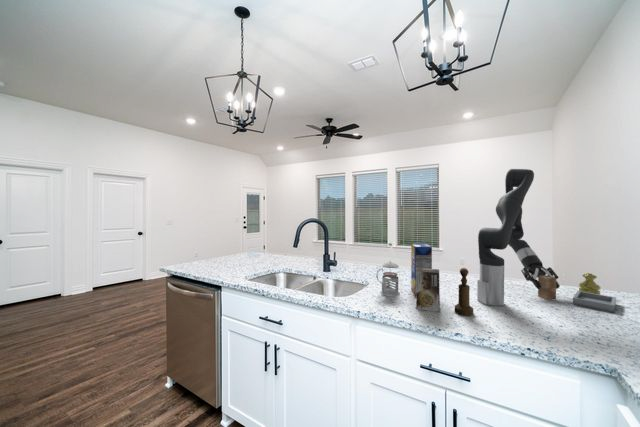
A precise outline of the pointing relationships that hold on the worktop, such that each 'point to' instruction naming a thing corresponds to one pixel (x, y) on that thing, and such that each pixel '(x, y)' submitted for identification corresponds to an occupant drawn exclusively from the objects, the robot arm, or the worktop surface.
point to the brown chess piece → (464, 296)
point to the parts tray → (595, 301)
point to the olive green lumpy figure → (589, 284)
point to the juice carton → (419, 261)
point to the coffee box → (427, 289)
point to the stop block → (547, 287)
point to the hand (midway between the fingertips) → (548, 287)
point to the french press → (394, 278)
